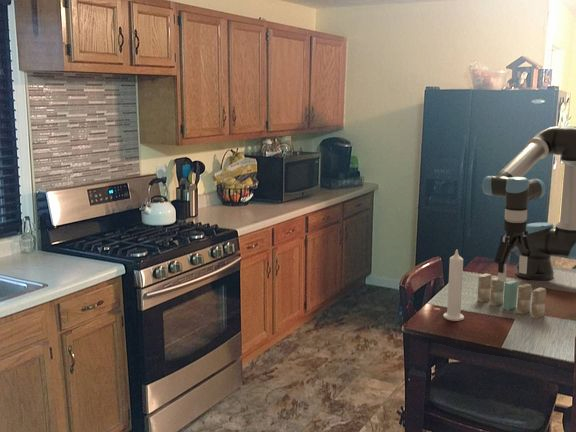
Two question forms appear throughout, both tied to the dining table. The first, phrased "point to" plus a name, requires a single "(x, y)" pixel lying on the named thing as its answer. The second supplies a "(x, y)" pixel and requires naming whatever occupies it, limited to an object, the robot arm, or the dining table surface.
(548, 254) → the robot arm
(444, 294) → the dining table surface
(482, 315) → the dining table surface
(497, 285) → the tile
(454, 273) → the white post
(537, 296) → the tile
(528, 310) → the tile
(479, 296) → the light brown flat block
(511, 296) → the tile
